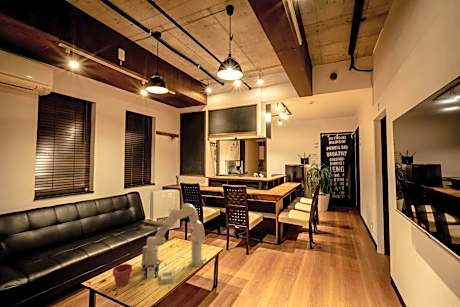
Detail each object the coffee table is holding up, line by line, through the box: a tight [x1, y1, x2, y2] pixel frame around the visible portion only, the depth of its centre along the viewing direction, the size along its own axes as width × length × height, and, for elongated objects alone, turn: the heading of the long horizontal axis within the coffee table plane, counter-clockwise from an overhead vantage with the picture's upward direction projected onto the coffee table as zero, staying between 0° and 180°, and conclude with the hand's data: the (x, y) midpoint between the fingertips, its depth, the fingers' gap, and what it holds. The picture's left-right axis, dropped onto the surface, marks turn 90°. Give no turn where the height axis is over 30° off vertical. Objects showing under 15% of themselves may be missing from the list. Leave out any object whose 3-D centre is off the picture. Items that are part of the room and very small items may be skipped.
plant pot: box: [112, 263, 133, 288], centre depth 178 cm, size 14×14×13 cm
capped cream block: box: [146, 265, 156, 279], centre depth 191 cm, size 6×8×8 cm
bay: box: [142, 265, 160, 280], centre depth 191 cm, size 11×11×5 cm
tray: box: [160, 271, 174, 284], centre depth 185 cm, size 10×11×3 cm
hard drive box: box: [141, 244, 159, 271], centre depth 207 cm, size 16×8×20 cm, turn 168°
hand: (151, 271), depth 191 cm, fingers open, 7 cm apart
